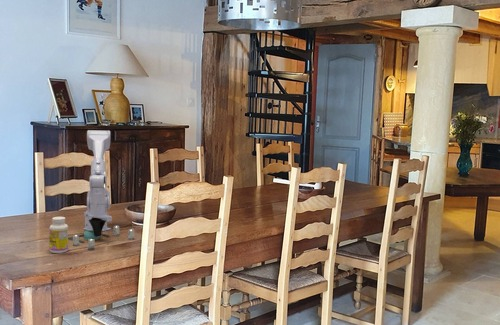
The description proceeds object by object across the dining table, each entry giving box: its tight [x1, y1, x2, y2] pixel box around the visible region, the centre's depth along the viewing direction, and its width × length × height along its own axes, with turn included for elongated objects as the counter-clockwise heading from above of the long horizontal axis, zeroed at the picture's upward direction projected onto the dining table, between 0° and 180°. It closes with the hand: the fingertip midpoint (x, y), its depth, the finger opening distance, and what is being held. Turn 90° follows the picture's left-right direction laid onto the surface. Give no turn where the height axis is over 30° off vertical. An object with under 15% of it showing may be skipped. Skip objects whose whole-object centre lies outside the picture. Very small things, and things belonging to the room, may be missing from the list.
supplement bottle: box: [48, 216, 69, 254], centre depth 201 cm, size 7×7×13 cm
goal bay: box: [68, 232, 110, 244], centre depth 222 cm, size 9×14×1 cm
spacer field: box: [72, 224, 135, 251], centre depth 217 cm, size 11×23×4 cm, turn 147°
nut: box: [83, 230, 99, 241], centre depth 221 cm, size 6×6×3 cm
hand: (97, 236), depth 219 cm, fingers closed
